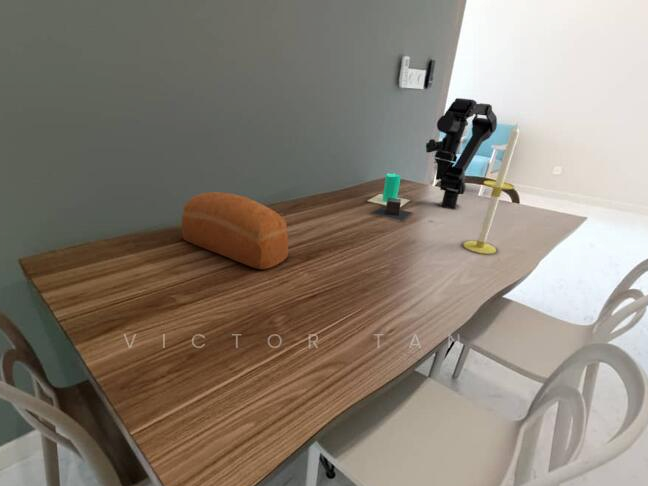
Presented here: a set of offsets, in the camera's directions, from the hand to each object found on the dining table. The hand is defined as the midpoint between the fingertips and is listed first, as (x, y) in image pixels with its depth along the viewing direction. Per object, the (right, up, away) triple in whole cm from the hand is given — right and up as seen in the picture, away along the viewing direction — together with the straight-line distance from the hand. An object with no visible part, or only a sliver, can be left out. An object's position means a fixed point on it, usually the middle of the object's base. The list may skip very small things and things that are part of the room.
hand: (438, 179), depth 150 cm
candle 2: (+5, -30, -23) cm, 38 cm away
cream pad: (-16, -5, +15) cm, 22 cm away
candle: (-16, -4, +15) cm, 22 cm away
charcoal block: (-18, -13, +1) cm, 22 cm away
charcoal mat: (-18, -13, +1) cm, 22 cm away
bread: (-72, -31, -35) cm, 86 cm away
